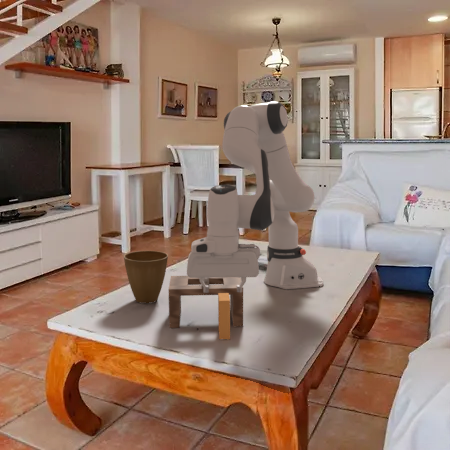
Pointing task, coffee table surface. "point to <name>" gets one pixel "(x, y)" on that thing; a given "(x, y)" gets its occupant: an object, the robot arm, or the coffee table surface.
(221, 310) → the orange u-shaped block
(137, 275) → the plant pot
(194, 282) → the wooden table with hole
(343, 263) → the coffee table surface
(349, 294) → the coffee table surface
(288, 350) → the coffee table surface
